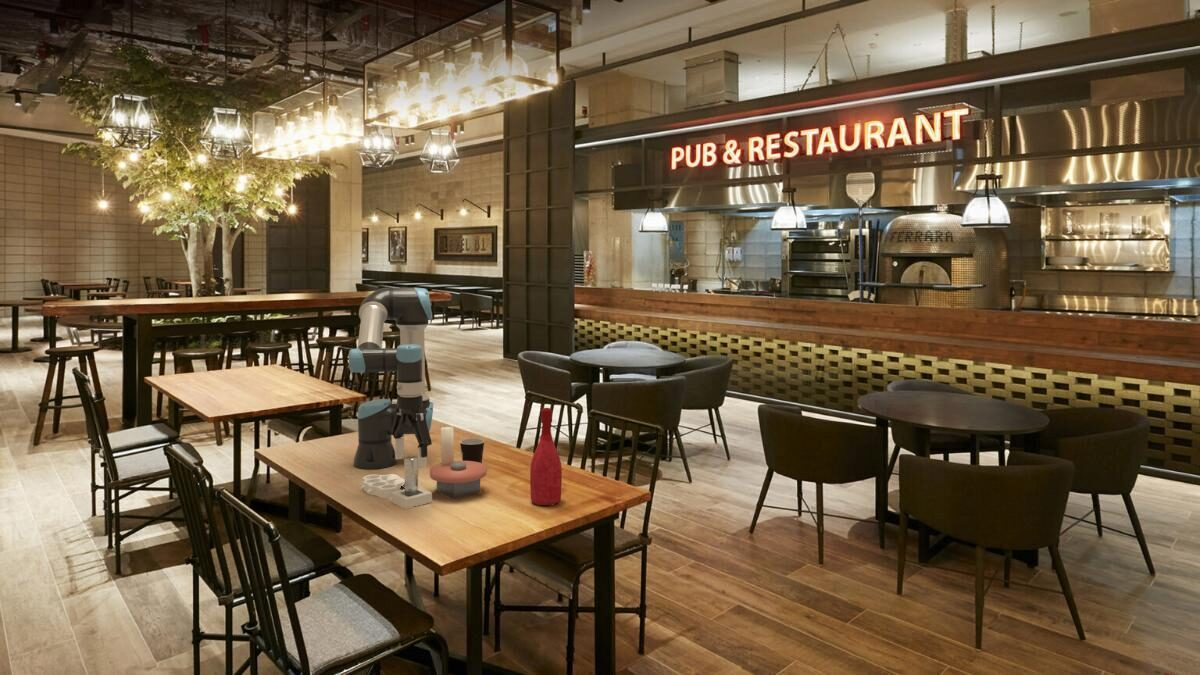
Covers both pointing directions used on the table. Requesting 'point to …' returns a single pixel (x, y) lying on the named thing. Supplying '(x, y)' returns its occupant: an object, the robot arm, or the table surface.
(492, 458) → the table surface
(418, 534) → the table surface
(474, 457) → the coffee mug
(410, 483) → the steel pin
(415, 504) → the eye block
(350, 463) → the table surface
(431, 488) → the table surface
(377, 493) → the knuckle duster
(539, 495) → the wine bottle
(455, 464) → the handwheel
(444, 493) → the valve housing
